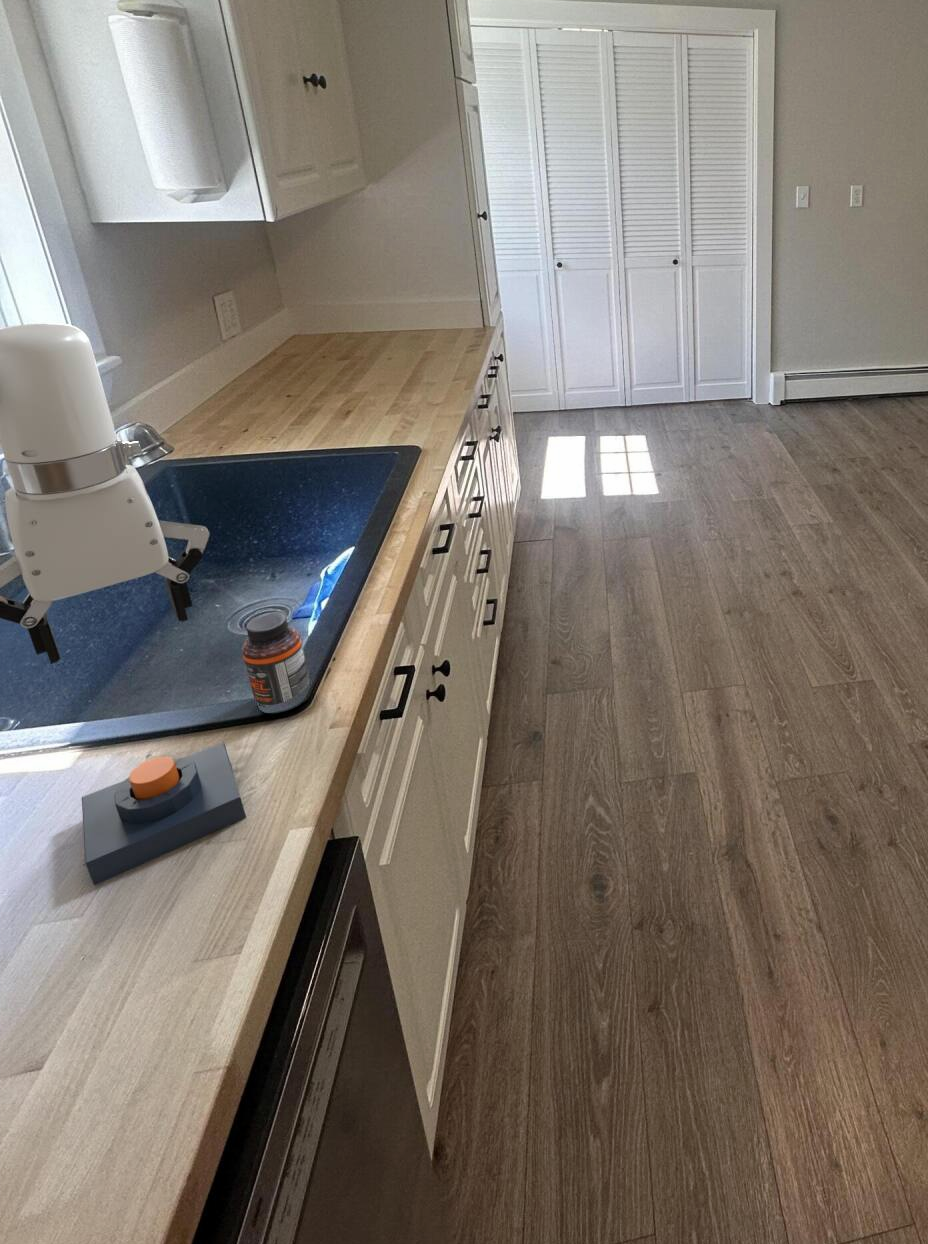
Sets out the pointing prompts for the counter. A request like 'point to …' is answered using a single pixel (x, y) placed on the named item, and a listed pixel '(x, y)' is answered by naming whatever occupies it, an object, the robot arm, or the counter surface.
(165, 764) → the push button
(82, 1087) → the counter surface
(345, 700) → the counter surface
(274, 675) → the supplement bottle
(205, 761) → the button box
